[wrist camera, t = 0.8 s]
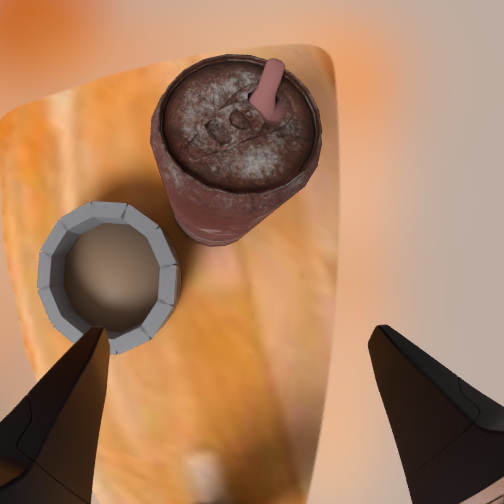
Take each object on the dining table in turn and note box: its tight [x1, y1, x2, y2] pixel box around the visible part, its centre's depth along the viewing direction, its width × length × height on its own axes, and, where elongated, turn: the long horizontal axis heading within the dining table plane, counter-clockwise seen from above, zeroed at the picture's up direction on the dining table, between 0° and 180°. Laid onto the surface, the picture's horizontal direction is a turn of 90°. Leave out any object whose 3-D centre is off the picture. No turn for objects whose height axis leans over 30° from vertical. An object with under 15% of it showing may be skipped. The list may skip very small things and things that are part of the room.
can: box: [150, 54, 322, 247], centre depth 16 cm, size 6×6×14 cm
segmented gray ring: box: [37, 201, 181, 355], centre depth 20 cm, size 10×10×4 cm
